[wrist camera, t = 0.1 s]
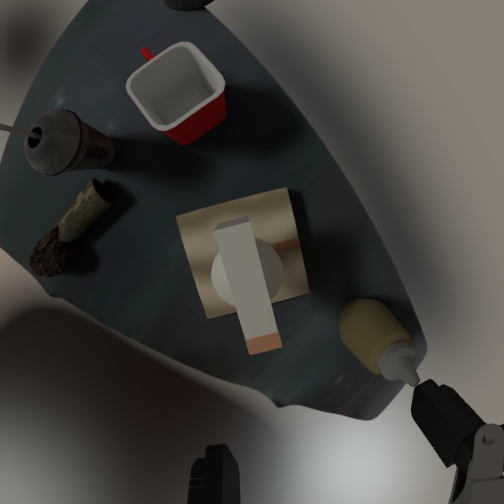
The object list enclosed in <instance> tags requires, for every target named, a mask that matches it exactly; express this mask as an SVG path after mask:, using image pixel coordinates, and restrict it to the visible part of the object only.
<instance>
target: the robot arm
mask: <svg viewBox="0 0 504 504" xmlns="http://www.w3.org/2000/svg"><path fill="white" fill-rule="evenodd" d="M213 1H214V0H164V2H165V4H166V5H167V6H168V7H170V8H172V9H176V10H193V9H198V8H201V7H204V6H206V5H208V4H210V3H211V2H213ZM411 414H412V417H413V419H414V421H415V422H416V424H417V425H418V427H419V428H420V429H421V431H422V432H423V434H424V435H425V437H426V438H427V440H428V441H429V442H430V444H431V445H432V447H433V448H434V450H435V451H436V453H437V454H438V456H439V457H440V458H441V460H442V462H443V463H444V465H445V466H446V468H448V467H450V466H451V465H453V464H454V463H455V465H456V466H457V469H456V473H455V478H454V484H453V488H452V492H451V496H450V500H449V504H504V476H503V472H504V424H502V425H496V424H487V423H485V422H484V421H483V420H482V419H481V418H480V417H479V416H478V415H477V414H476V412H475V411H474V410H473V409H472V408H471V407H470V406H469V405H468V404H467V403H465V401H464V400H463V399H462V397H460V396H459V394H458V393H457V392H456V391H455V390H454V389H453V388H451V387H449V386H446V385H444V384H443V385H441V386H438V385H437V384H436V383H435V382H434V381H433V380H432V379H429V380H427V381H425V382H423V383H421V384H419V385H417V386H415V388H414V393H413V399H412V405H411ZM239 479H240V478H239V468H238V464H237V462H236V460H235V458H234V456H233V455H232V453H231V451H230V450H229V448H228V447H227V445H226V444H218V445H209V446H207V447H206V454H205V458H197V459H196V461H195V463H194V464H193V466H192V468H191V475H190V483H189V487H190V488H189V492H188V501H187V504H240V480H239Z"/></svg>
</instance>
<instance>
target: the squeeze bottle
mask: <svg viewBox="0 0 504 504" xmlns="http://www.w3.org/2000/svg"><path fill="white" fill-rule="evenodd" d="M339 330H340V337H341V339H342V341H343V343H344V344H345V345H346V346H347V348H348V349H349V350H350V351H351V352H352V353H353V354H354V355H355V356H356V357H357V358H358V359H359V360H360V361H361V362H362V363H363V364H364V365H365V366H366V367H367V368H368V370H369V371H371V372H372V373H374V374H376V375H383V377H384V378H386V379H387V380H397V379H399V378H400V379H401V380H403V381H404V382H406V383H407V384H409V385H410V386H412V387H415V386H416V385H418V383H419V382H420V378H419V376H418V374H417V372H416V370H415V368H414V366H413V365H414V363H415V360H416V353H415V350H414V349H413V348H412V347H411V345H412V341H411V338H410V335H409V334H408V332H407V331H406V330H405V329H404V328H403V326H402V325H401V324H400V323H399V322H398V320H397V319H396V318H395V317H394V316H393V315H392V313H391V312H390V311H389V310H388V309H387V308H386V306H385V305H383V304H382V303H381V302H380V301H377V300H372V299H365V298H356V299H352V300H351V301H349V302H348V303H346V304H345V306H344V307H343V308H342V309H341V312H340V315H339Z"/></svg>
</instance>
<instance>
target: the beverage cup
mask: <svg viewBox="0 0 504 504" xmlns="http://www.w3.org/2000/svg"><path fill="white" fill-rule="evenodd" d="M0 130H4V131H8V132H12V133H16V134H20V135H24V136H26V137H25V142H24V151H25V155H26V158H27V160H28V162H29V163H30V165H31V166H32V167H33V168H34V169H36V170H37V171H39V172H41V173H44V174H46V175H52V176H55V175H58V174H60V173H63V172H66V171H73V170H87V169H97V168H103V167H106V166H107V165H109V164H110V163H111V161H112V160H113V158H114V155H115V145H114V143H113V141H112V140H111V139H109V138H108V137H107V136H105V135H104V134H102V133H100V132H99V131H97V130H96V129H94V128H92V127H91V126H89V125H87V124H86V123H84V122H83V121H82V120H81V119H80V118H79V117H78V116H77V115H76V114H75V113H74V112H72V111H70V110H51V111H48V112H46V113H44V114H42V115H40V116H39V117H38V118H37V119H36V120H35V121H34V122H33V123H32V124H31V126H30V127H29V129H28V131H26V130H23V129H19V128H15V127H11V126H7V125H3V124H0Z"/></svg>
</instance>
